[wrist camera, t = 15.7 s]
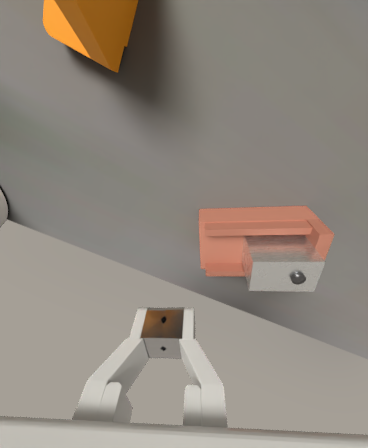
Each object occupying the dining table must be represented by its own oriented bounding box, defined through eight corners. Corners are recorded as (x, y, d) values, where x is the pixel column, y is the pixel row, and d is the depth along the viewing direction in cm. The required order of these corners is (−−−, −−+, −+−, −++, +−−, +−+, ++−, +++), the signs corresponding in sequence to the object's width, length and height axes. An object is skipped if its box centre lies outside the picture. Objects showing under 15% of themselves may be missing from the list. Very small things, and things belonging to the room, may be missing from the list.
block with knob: (241, 260, 31) (249, 293, 26) (244, 233, 29) (253, 264, 23) (295, 259, 30) (315, 294, 25) (302, 232, 28) (327, 264, 22)
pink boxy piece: (200, 253, 36) (200, 286, 30) (199, 209, 32) (198, 236, 25) (293, 252, 35) (314, 287, 28) (306, 205, 30) (334, 234, 24)
